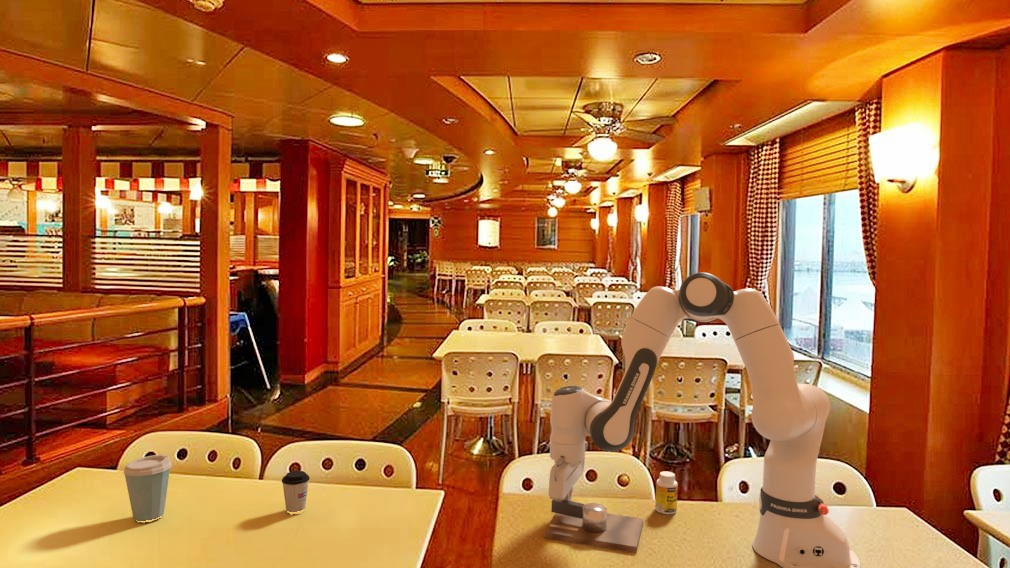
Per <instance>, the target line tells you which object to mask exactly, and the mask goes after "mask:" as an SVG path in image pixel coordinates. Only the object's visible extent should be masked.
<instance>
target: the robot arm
mask: <svg viewBox="0 0 1010 568" xmlns="http://www.w3.org/2000/svg"><path fill="white" fill-rule="evenodd" d="M717 320H721V321H722V322H724V323H725V325H726V326H727V328H728V329H729V331H730V335H731V336H732V338H733V340H734V343H735V345H736V348H737V351H738V352H739V355H740V357H741V360H742V362H743V365H744V367H745V369H746V372H747V377H748V381H749V386H750V390H751V391H750V392H751V397H752V409H751V414H750V415H751V422H752V425H753V427H754V429H755V430H756V432H757V433H758V434H759V435H760V436H761V437H763V438H765V439H767V440H770V441H769V444H768V447H767V449H766V451H765V454H764V457H763V471H762V472H763V473H762V486H761V487H760V493H759V500H758V501H759V503H758V510H759V514H760V515H759V520H758V525H757V530H756V532H755V537H754V539H753V541H752V548H753V550H754V551H755V552H756V553H757V554H758V555H759V556H761V557H763V558H765V559H766V560H768V561H771V562H774V564H777V565H779V566H780V567H781V568H861V566H862V565H861V561H860V559H859V556H858V555H857V554H856V552H855V551H853V550H852V549H851V548H850V545H849V540H848V538H847V535H846V533H845V531H844V530H843V529H842V528H841V527H840V525H838V524H837V523H835V522H834V521H833V520H832V519H831V518H830V517H828V516H827V515H828V514H829V513H830V511H829V508H828V506H827V504H826V503H824V501H823V499H821V497H820V496H819V494H817V495H816V494H815V491H816V489H815V488H816V473H817V462H818V457H819V452H820V448H821V445H822V442H823V436H824V431H825V428H826V427H825V426H826V421H827V419H828V416H829V414H830V411H831V403H830V401H831V400H830V399H829V397H828V395H827V393H826V392H825V391H824V390H823V389H822V388H820V387H818V386H816V385H814V384H809V383H798V382H797V378H796V371H795V367H794V365H795V364H794V361H795V356H794V352H793V349H792V348H791V346H790V343H789V341H788V338H787V337H786V335H785V332H784V330H783V328H782V326H781V324H780V323H781V322H780V321H779V319H778V317H777V316H776V314H775V312H774V310H773V308H772V307H771V305H770V304H769V302H768V301H767V299H766V298H765V296H764V295H763V294H762V293H761V292H760V291H759V290H757V289H756V288H741V289H737V290H735V291H734V289H733V288H732V287H731V286H730V285H729V284H727V283H725V282H724V280H723V281H722V279H720V278H719V277H718V276H715V275H714V274H711V273H709V272H696V273H693V274H690V275H689V276H687V277H686V278H685V279H684V280H683V281H682V282H681V285H680V287H679V289H671V288H670V287H668V286H667V287H666V286H663V285H662V286H661V285H660V286H658V285H656V286H653V287H651V288H650V289H649V290H648V291H647V292H646V294H644V296H643V297H642V298H641V300H640V301H639V303H638V305H637V306H636V308H635V309H634V310H633V312H632V314H631V316H630V318H629V319H628V321H627V323H626V325H625V328H624V329H623V330H624V331H623V333H622V337H621V340H620V343H621V349H622V352H623V356H624V361H625V369H624V373H623V376H622V379H621V381H620V383H619V385H618V387H617V390H616V392H615V394H614V396H613V397H612V400H609V399H607V398H605V397H600V396H596V395H594V394H592V393H590V392H588V391H587V390H585V389H583V388H582V387H581V386H579V385H578V386H577V385H567V386H563V387H561V388H558V389H557V390H556V391H555V392H553V396H552V399H551V402H550V403H551V404H550V415H549V417H550V418H549V419H550V421H549V422H550V426H551V427H550V428H551V433H550V436H549V457H550V459H551V460H553V461H554V465H553V466H552V467H551V468H550V471H549V478H548V480H549V481H548V496H549V499H550V500H553V499H554V500H568V501H572V494H573V490H574V486H575V485H576V483H577V482H578V481H579V479H580V478H581V477H582V475H583V473H584V470H585V460H586V451H587V450H588V441H586V438H587V437H591V438H592V441H593V443H594V444H595V445H596V447H598V449H600V450H602V451H604V452H610V453H613V452H619V451H620V450H622V449H625V448H627V446H629V444H630V443H631V441H632V439H633V437H634V434H635V433H634V431H635V421H636V417H637V414H638V411H639V408H640V407H641V404H642V401H643V400H644V397H645V395H646V393H647V390H648V388H649V386H650V384H651V381H652V379H653V376H654V374H655V371H656V369H657V366H658V363H659V361H660V359H661V357H662V356H663V355H662V354H663V353H664V351H665V348H666V347H667V345H668V343H669V341H670V339H671V338H672V335H673V333H674V331H675V329H676V328H677V326H678V325H679V323H680V322H681V321H688V322H695V323H697V324H710V323H714V322H716V321H717Z"/></svg>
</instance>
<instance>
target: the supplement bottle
mask: <svg viewBox="0 0 1010 568" xmlns="http://www.w3.org/2000/svg"><path fill="white" fill-rule="evenodd" d="M655 484H656V486H655V510H656V511H657V512H658V513H659V514H663V515H673V514H676V512H677V509H678V508H677V506H678V505H677V504H678V489H679V487H678V484H679V483H678V482H677V480H676V474H675V473H674V472H672V471H660V472H659V478H658V479H657V480H656V483H655Z"/></svg>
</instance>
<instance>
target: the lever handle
mask: <svg viewBox="0 0 1010 568" xmlns="http://www.w3.org/2000/svg"><path fill="white" fill-rule="evenodd" d="M551 513H554V514H555V513H558V514H562V515H567V516H571V517H576V518H580V519H582V527H583V528H584V529H585V530H587V531H591V532H602V531H604V530H606V528H607V513H608V507H607V506H606V505H604V504H601V503H598V502H589V503H588V502H587V503H582V502H576V501H572V500H571V501H568V500H554V499H551Z"/></svg>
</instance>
